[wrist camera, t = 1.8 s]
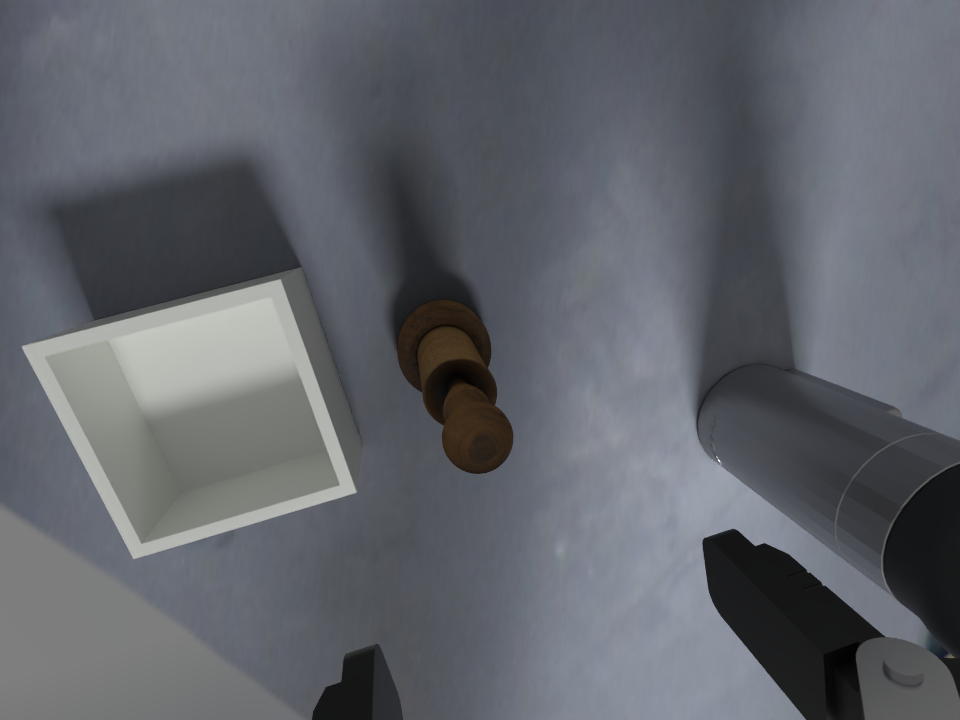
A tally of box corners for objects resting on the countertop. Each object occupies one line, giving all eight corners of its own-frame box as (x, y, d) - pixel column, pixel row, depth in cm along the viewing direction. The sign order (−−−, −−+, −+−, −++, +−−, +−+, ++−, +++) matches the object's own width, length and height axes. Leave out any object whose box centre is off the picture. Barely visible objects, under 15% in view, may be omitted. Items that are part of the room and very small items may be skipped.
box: (301, 266, 35) (280, 279, 29) (362, 445, 39) (356, 492, 33) (93, 320, 34) (21, 346, 27) (179, 498, 38) (133, 559, 31)
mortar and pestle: (395, 299, 37) (399, 374, 20) (487, 298, 38) (565, 368, 21) (398, 390, 39) (403, 530, 21) (485, 386, 40) (557, 517, 22)
